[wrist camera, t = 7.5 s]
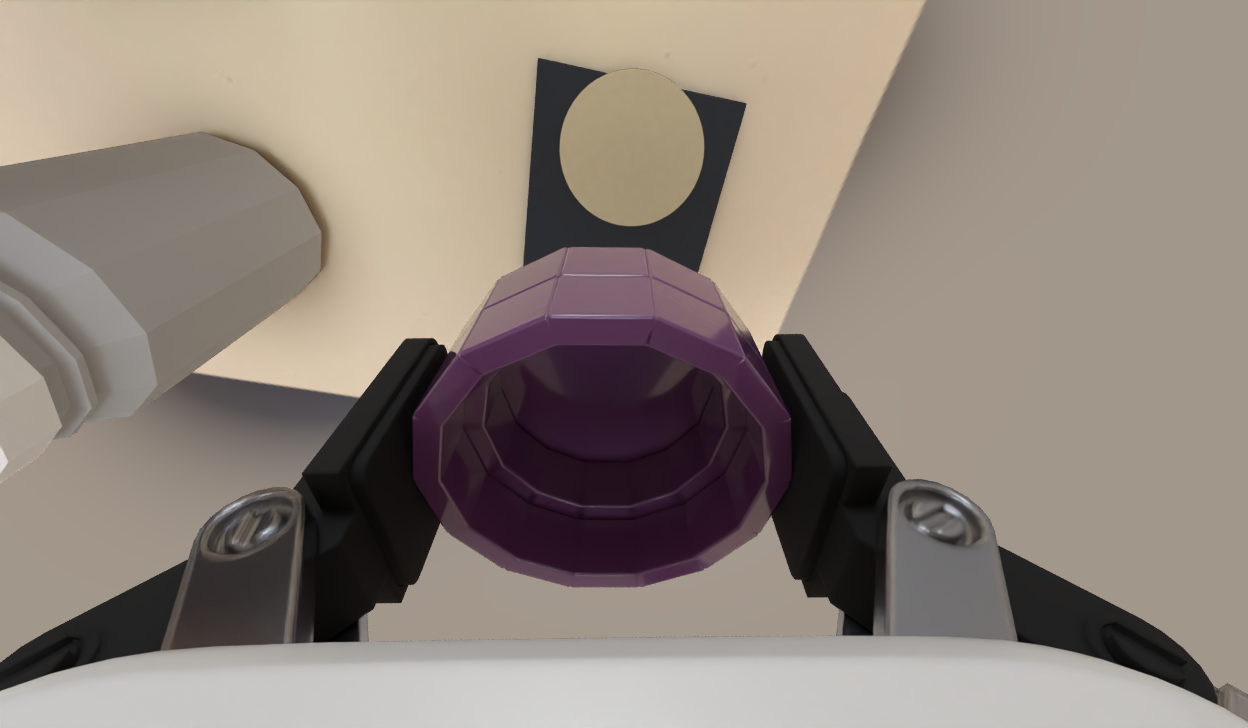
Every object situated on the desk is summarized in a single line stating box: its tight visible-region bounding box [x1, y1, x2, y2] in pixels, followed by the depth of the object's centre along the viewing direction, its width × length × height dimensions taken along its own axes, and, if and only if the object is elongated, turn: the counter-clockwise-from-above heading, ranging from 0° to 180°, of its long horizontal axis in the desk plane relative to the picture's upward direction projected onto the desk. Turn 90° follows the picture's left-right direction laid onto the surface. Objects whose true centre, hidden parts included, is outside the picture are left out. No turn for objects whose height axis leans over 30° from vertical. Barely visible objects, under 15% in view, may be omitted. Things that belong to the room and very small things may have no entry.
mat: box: [523, 58, 746, 273], centre depth 29 cm, size 20×11×1 cm, turn 169°
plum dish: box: [412, 247, 792, 587], centre depth 10 cm, size 7×7×3 cm
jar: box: [0, 132, 321, 483], centre depth 20 cm, size 10×10×18 cm
